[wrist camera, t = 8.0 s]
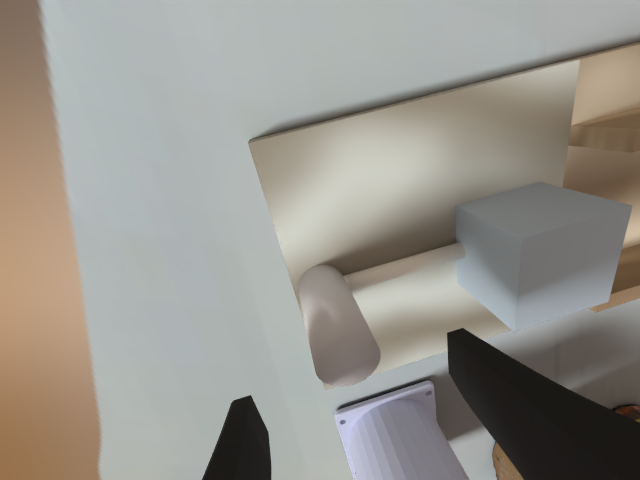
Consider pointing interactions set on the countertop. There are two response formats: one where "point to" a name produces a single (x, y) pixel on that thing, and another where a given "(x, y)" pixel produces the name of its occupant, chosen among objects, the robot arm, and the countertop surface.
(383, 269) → the block
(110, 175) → the countertop surface
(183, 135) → the countertop surface
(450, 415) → the countertop surface
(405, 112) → the shelf lane
